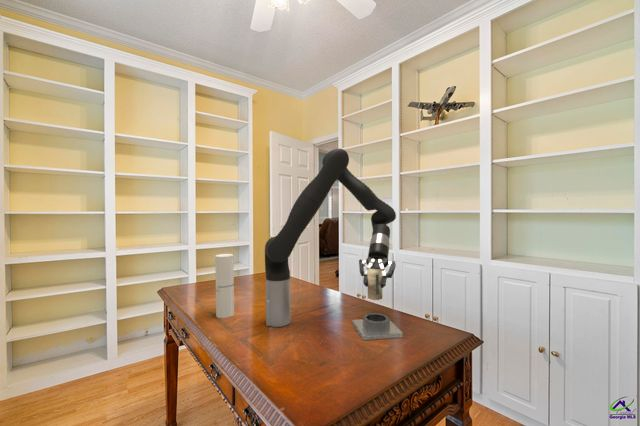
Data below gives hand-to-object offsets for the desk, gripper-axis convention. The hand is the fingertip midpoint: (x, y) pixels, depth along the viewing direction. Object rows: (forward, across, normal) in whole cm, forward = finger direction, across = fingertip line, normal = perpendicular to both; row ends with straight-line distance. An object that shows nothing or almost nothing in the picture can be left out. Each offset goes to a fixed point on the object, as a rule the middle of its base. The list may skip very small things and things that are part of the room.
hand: (374, 286), depth 104 cm
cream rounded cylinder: (+2, 0, +5) cm, 5 cm away
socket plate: (+11, 0, +13) cm, 17 cm away
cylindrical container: (+15, -62, +8) cm, 64 cm away
